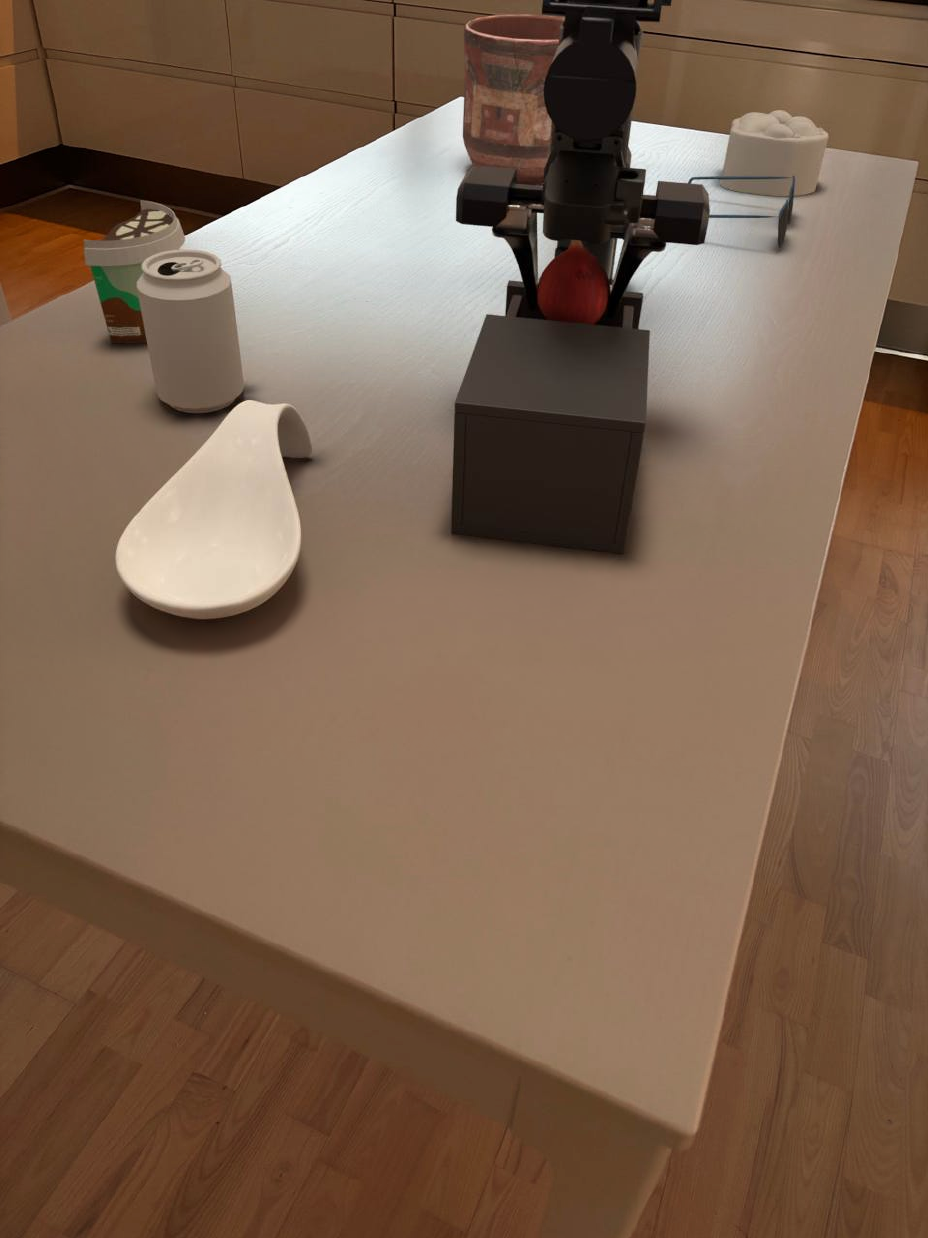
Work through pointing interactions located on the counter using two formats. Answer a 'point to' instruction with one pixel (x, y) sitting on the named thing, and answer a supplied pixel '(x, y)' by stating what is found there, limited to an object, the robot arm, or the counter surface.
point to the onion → (574, 287)
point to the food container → (130, 266)
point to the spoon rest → (221, 520)
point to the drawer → (623, 317)
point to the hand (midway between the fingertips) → (571, 312)
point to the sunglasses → (783, 215)
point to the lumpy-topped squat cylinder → (774, 154)
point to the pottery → (509, 92)
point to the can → (191, 330)
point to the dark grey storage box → (550, 433)
